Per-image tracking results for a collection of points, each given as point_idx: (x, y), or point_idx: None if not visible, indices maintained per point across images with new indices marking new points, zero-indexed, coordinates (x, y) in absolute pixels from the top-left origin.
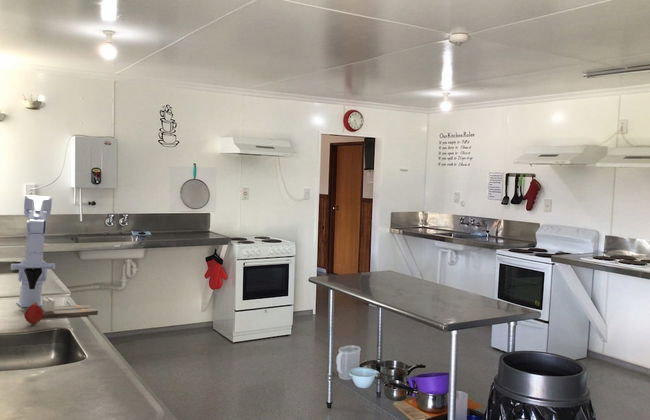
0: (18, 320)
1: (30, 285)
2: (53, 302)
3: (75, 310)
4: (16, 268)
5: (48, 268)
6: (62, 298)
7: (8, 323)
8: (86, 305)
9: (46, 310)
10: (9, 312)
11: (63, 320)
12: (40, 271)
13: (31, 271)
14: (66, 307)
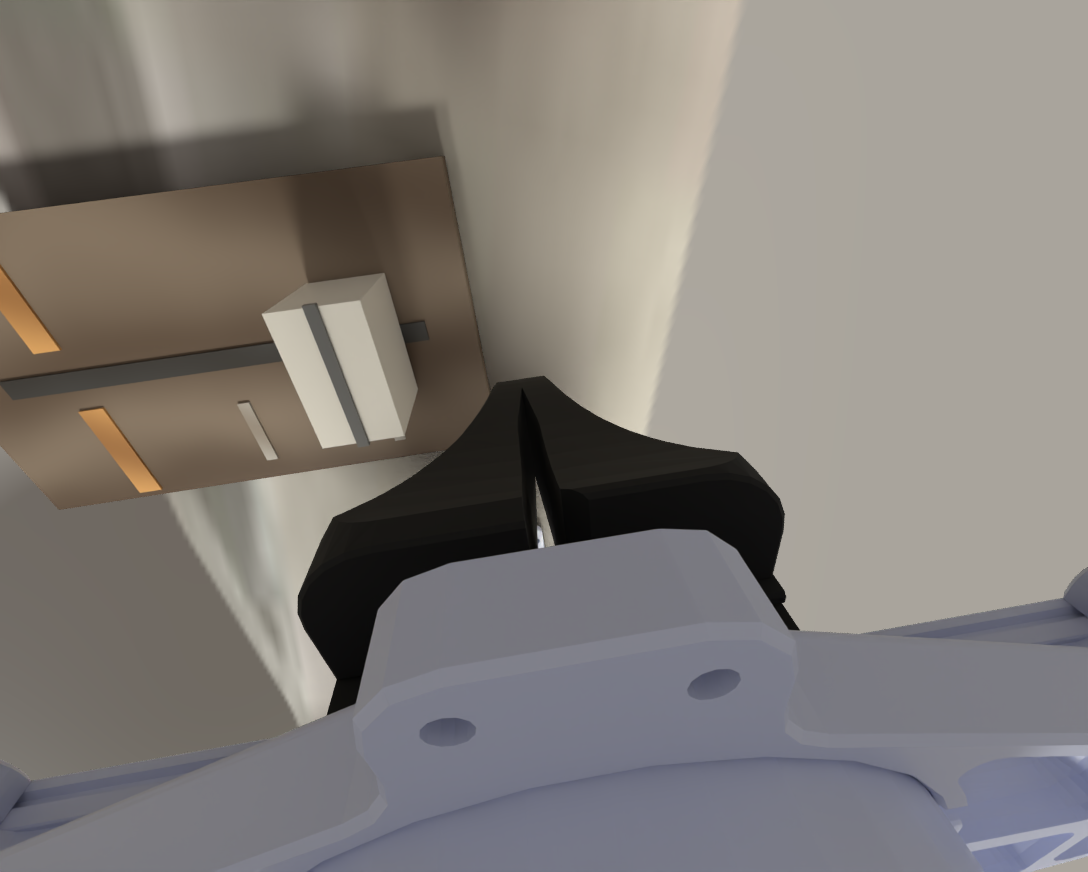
0: (611, 136)
1: (560, 391)
2: (282, 304)
3: (98, 300)
4: (1050, 631)
5: (124, 781)
6: (318, 694)
7: (714, 12)
8: (59, 480)
9: (370, 277)
10: (624, 424)
11: (181, 14)
12: (359, 532)
13: (657, 499)
14: (219, 426)
